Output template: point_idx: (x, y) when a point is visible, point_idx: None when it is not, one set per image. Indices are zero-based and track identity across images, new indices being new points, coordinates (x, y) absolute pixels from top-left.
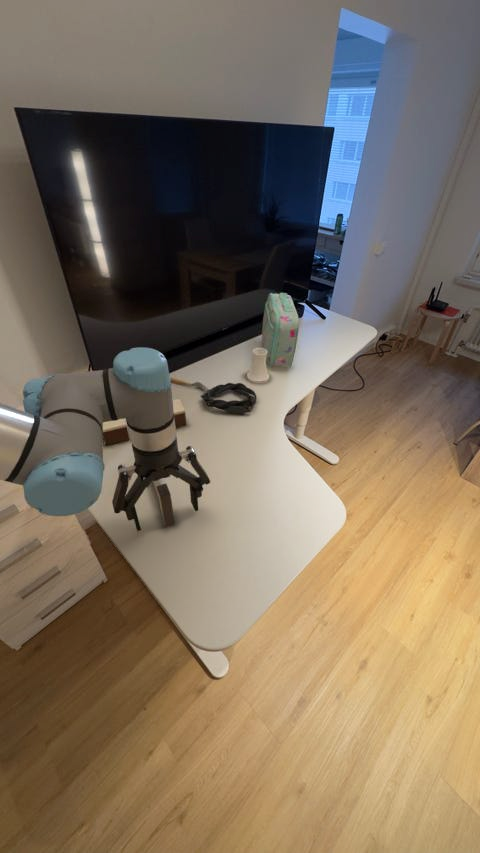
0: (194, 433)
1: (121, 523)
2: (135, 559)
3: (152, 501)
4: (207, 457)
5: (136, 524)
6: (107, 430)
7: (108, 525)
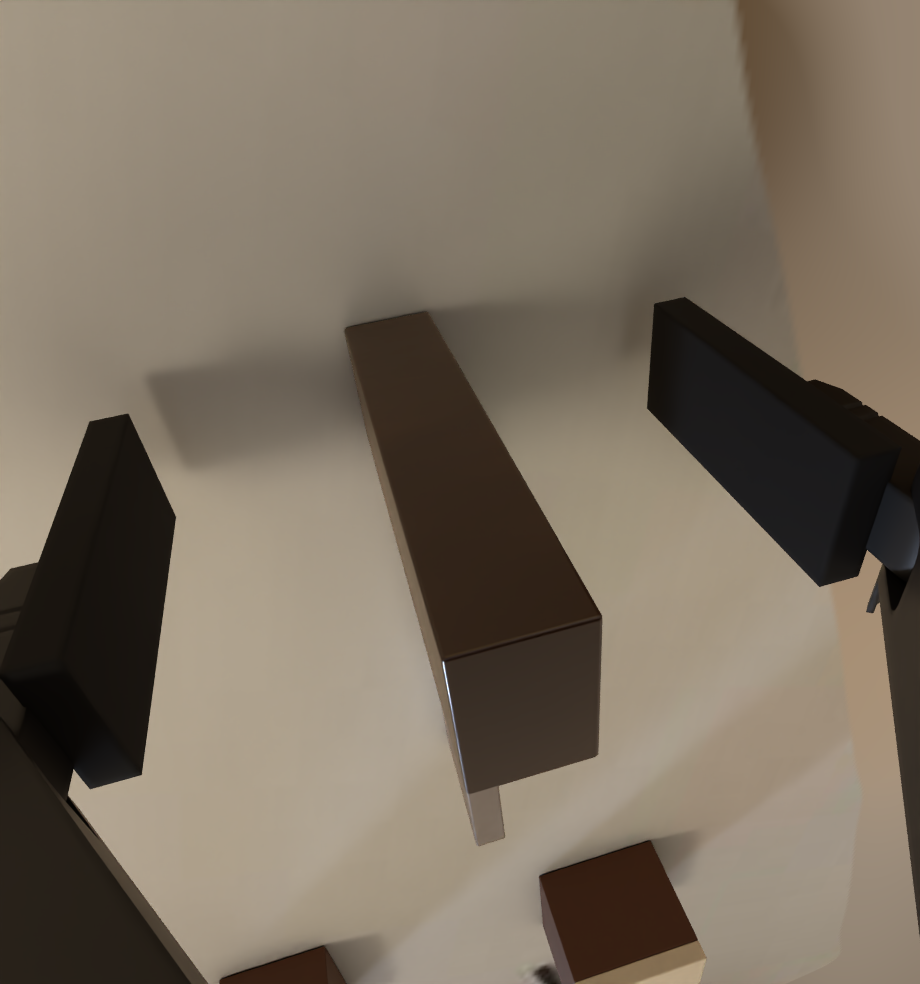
0: None
1: None
2: (735, 33)
3: None
4: None
5: (734, 340)
6: (675, 955)
7: None
